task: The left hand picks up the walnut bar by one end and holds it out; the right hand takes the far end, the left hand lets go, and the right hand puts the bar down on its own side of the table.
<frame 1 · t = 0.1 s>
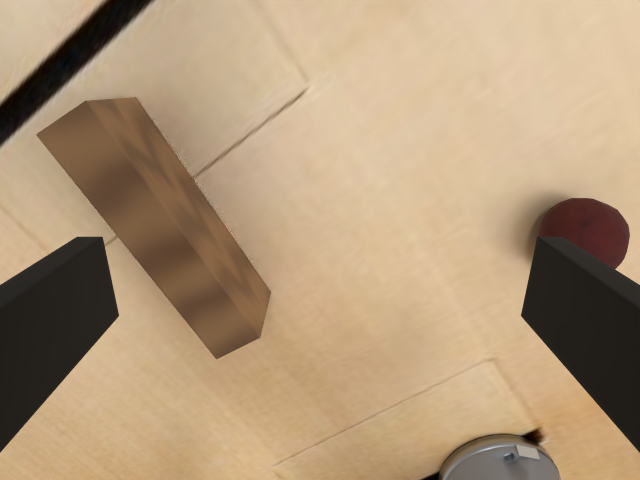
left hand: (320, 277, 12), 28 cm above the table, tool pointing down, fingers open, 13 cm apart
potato: (560, 224, 41), on the table
bar: (190, 214, 41), on the table
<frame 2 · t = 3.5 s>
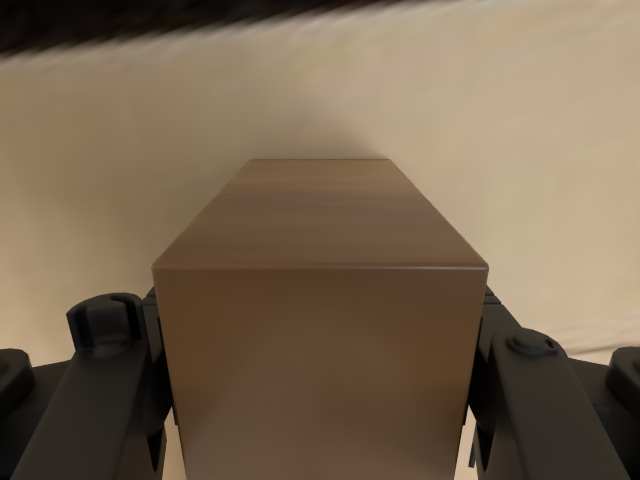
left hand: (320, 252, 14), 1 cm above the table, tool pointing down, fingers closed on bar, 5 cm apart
bar: (320, 423, 18), on the table, touching left hand
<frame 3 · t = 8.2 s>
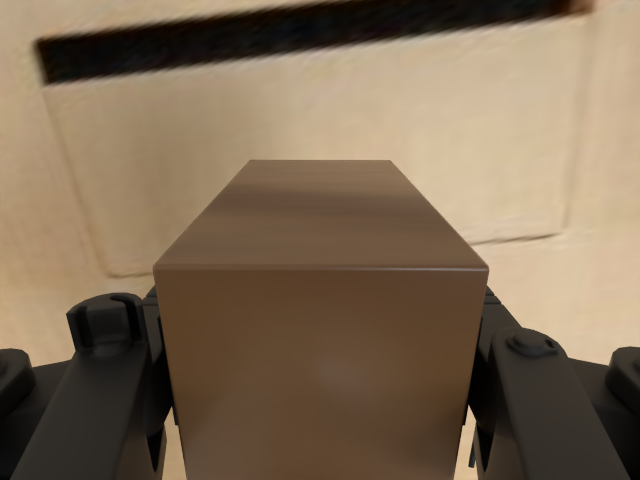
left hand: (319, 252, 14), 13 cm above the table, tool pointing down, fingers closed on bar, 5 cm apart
bar: (319, 423, 18), point 12 cm above the table, touching left hand, right hand
when the left hand's fingers open (13 cm above the table, at t = 9.0 s): bar stays where it is, held by the right hand.
when the right hand's fingers open (2 cm above the table, at t = 15.4 s): bar drops 2 cm, on the table.
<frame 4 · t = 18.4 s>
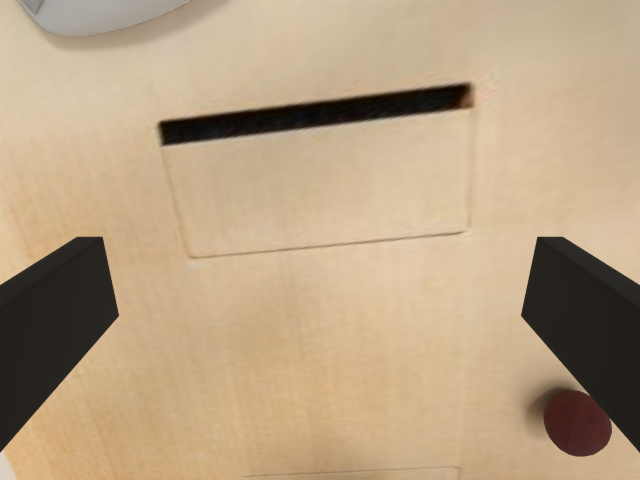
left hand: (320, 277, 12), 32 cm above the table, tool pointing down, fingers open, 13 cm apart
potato: (560, 400, 54), on the table
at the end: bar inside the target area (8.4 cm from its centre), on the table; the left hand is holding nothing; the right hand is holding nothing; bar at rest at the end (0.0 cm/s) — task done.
